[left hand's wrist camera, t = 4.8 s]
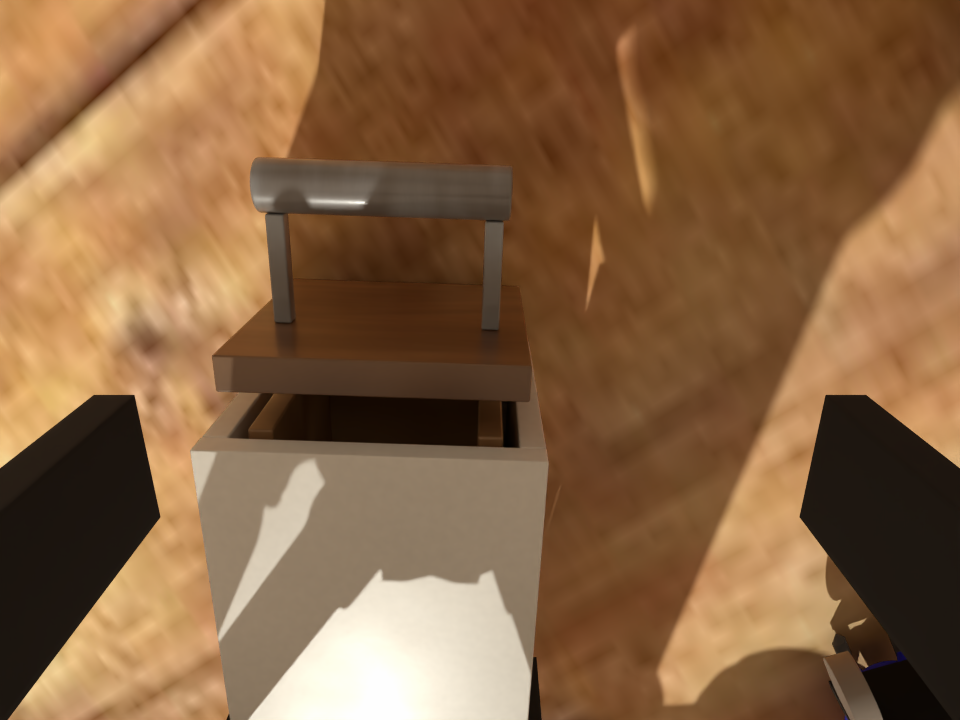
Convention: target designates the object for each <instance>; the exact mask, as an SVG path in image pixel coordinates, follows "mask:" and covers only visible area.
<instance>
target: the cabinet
mask: <svg viewBox="0 0 960 720" xmlns="http://www.w3.org/2000/svg"><path fill="white" fill-rule="evenodd" d="M528 344H529V341H528ZM529 350H530V347H529ZM530 357H531V352H530ZM531 363H532V358H531ZM272 396H273V393H243V392H239V393H238V394H237V396H236V397H235V398H234V399H233V400H232V402H231V403H230V404H229V405H228V406H227V408H226V409H225V410H224V411H223V412H222V414H221V415H220V416H219V417H218V418H217V420H216V421H215V422H214V423H213V424H212V426H211V427H210V428H209V429H208V430H207V432H206V433H205V434H204V435H203V437H202V438H200V439H199V440H198V442H197V443H196V444H195V445H194V446H193V448H192V449H191V450H190V453H191V459H192V466H193V473H194V479H195V486H196V493H197V500H198V506H199V513H200V520H201V527H202V533H203V540H204V547H205V553H206V560H207V567H208V574H209V580H210V587H211V594H212V601H213V607H214V614H215V621H216V628H217V634H218V641H219V648H220V654H221V661H222V668H223V675H224V681H225V688H226V695H227V702H228V708H229V715H230V720H528V715H529V702H530V690H531V678H532V665H533V653H534V641H535V628H536V616H537V603H538V591H539V579H540V566H541V554H542V542H543V529H544V517H545V505H546V492H547V480H548V468H549V461H548V455H547V450H546V443H545V437H544V431H543V425H542V419H541V413H540V407H539V401H538V395H537V389H536V383H535V376H534V370H533V364H532V379H531V394H530V401H529V402H510V401H502V422H503V447H474V446H444V445H414V444H384V443H355V442H325V441H295V440H265V439H249V434H248V430H249V428H250V426H251V425H252V424H253V422H254V421H255V419H256V418H257V417H258V415H259V414H260V412H261V411H262V410H263V408H264V407H265V405H266V404H267V403H268V401H269V400H270V398H271V397H272Z"/></svg>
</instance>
